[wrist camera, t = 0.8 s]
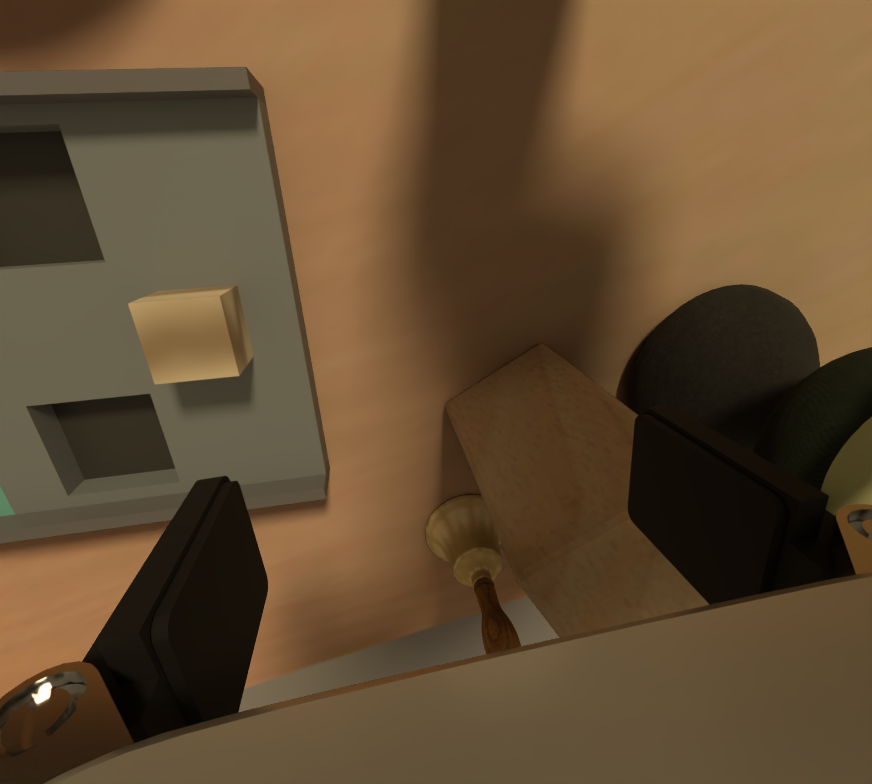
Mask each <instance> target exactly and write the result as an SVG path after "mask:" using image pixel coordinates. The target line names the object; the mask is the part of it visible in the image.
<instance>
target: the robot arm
mask: <svg viewBox="0 0 872 784" xmlns="http://www.w3.org/2000/svg"><path fill="white" fill-rule="evenodd" d="M828 499H829V495H827V494H825V493H824V492H822V491H820V490H818V489H817V488H815V487H813V486H811V485H810V484H808V483H806V482H804V481H802V480H801V479H799V478H797V477H795V476H794V475H792V474H790V473H788V472H787V471H785V470H783V469H781V468H780V467H778V466H776V465H774V464H773V463H771V462H769V461H767V460H766V459H764V458H762V457H760V456H758V455H757V454H755V453H753V452H751V451H750V450H748V449H746V448H744V447H743V446H741V445H739V444H737V443H736V442H734V441H732V440H730V439H729V438H727V437H725V436H723V435H722V434H720V433H718V432H716V431H715V430H713V429H711V428H709V427H707V426H706V425H704V424H702V423H700V422H699V421H697V420H695V419H693V418H692V417H690V416H688V415H686V414H685V413H683V412H681V411H679V410H678V409H676V408H674V407H672V406H670V405H664V406H657V407H651V408H645V409H643V410H642V412H641V414H640V415H638V416H637V417H636V419H635V424H634V436H633V448H632V460H631V472H630V484H629V496H628V514H629V517H630V519H631V521H632V522H633V523H634V524H635V525H636V526H637V528H638V529H639V530H640V531H641V532H642V533H643V534H644V535H645V536H646V537H647V538H648V539H649V540H650V541H651V543H652V544H653V545H654V546H655V547H656V548H657V549H658V550H659V551H660V552H661V553H662V554H663V555H664V556H665V557H666V559H667V560H668V561H669V562H670V563H671V564H672V565H673V566H674V567H675V568H676V569H677V570H678V571H679V572H680V574H681V575H682V576H683V577H684V578H685V579H686V580H687V581H688V582H689V583H690V584H691V585H692V586H693V587H694V589H695V590H696V591H697V592H698V593H699V594H700V595H701V596H702V597H703V598H704V599H705V600H706V601H707V602H708V604H709V605H706V606H701V607H697V608H692V609H688V610H683V611H678V612H674V613H669V614H665V615H660V616H655V617H651V618H646V619H642V620H637V621H633V622H628V623H624V624H619V625H615V626H610V627H606V628H601V629H597V630H592V631H588V632H583V633H579V634H574V635H570V636H565V637H561V638H556V639H552V640H548V641H543V642H539V643H534V644H530V645H526V646H521V647H516V648H512V649H508V650H503V651H499V652H494V653H490V654H485V655H481V656H476V657H472V658H468V659H464V660H459V661H455V662H451V663H446V664H442V665H437V666H433V667H429V668H424V669H420V670H416V671H412V672H407V673H403V674H398V675H394V676H390V677H386V678H381V679H377V680H372V681H368V682H364V683H359V684H355V685H351V686H347V687H342V688H338V689H333V690H329V691H324V692H320V693H316V694H312V695H308V696H304V697H300V698H296V699H291V700H288V701H284V702H279V703H275V704H271V705H267V706H262V707H258V708H254V709H250V710H246V711H243V712H239V713H238V711H239V707H240V703H241V699H242V694H243V691H244V687H245V683H246V679H247V674H248V670H249V666H250V662H251V658H252V654H253V650H254V646H255V642H256V638H257V634H258V629H259V625H260V621H261V617H262V613H263V609H264V605H265V601H266V597H267V592H268V580H267V575H266V571H265V568H264V564H263V561H262V558H261V554H260V551H259V548H258V544H257V541H256V537H255V534H254V531H253V527H252V524H251V521H250V517H249V514H248V511H247V507H246V504H245V500H244V497H243V494H242V490H241V487H240V484H239V483H238V481H230V479H229V478H228V477H227V476H220V477H214V478H208V479H202V480H197V481H196V482H195V484H194V485H193V487H192V488H191V490H190V492H189V493H188V495H187V496H186V498H185V500H184V501H183V503H182V504H181V506H180V507H179V509H178V511H177V512H176V514H175V515H174V517H173V518H172V520H171V522H170V523H169V525H168V526H167V528H166V530H165V531H164V533H163V534H162V536H161V537H160V539H159V541H158V542H157V544H156V545H155V547H154V549H153V550H152V552H151V553H150V555H149V556H148V558H147V560H146V561H145V563H144V564H143V566H142V567H141V569H140V571H139V572H138V574H137V575H136V577H135V579H134V580H133V582H132V583H131V585H130V586H129V588H128V590H127V591H126V593H125V594H124V596H123V597H122V599H121V601H120V602H119V604H118V605H117V607H116V609H115V610H114V612H113V613H112V615H111V616H110V618H109V620H108V621H107V623H106V624H105V626H104V628H103V629H102V631H101V632H100V634H99V635H98V637H97V639H96V640H95V642H94V644H93V645H92V647H91V648H90V650H89V652H88V653H87V655H86V656H85V658H84V659H83V661H82V662H80V661H78V662H71V663H63V664H61V665H58V666H55V667H52V668H49V669H46V670H44V671H42V672H40V673H38V674H36V675H35V676H33V677H31V678H29V679H27V680H25V681H24V682H22V683H21V684H19V685H18V686H16V687H15V688H14V689H12V690H11V691H9V692H8V693H6V694H5V695H4V696H3V697H2V698H0V784H872V505H868V504H852V505H847V506H844V507H841V508H840V509H839V510H838V511H837V512H836V515H835V517H833V516H831V515H830V514H828V513H826V512H825V510H826V506H827V502H828Z"/></svg>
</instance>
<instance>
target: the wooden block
mask: <svg viewBox="0 0 872 784" xmlns="http://www.w3.org/2000/svg"><path fill="white" fill-rule="evenodd" d="M445 408H446V411H447V414H448V416H449V419H450V421H451V423H452V426H453V428H454V431H455V433H456V435H457V438H458V440H459V443H460V445H461V448H462V450H463V452H464V455H465V457H466V460H467V462H468V464H469V467H470V469H471V472H472V474H473V476H474V479H475V481H476V484H477V486H478V488H479V491H480V493H481V496H482V498H483V501H484V503H485V505H486V508H487V510H488V513H489V515H490V517H491V520H492V522H493V525H494V527H495V529H496V532H497V534H498V537H499V539H500V541H501V544H502V546H503V549H504V551H505V553H506V556H507V558H508V561H509V563H510V566H511V568H512V570H513V573H514V575H515V578H516V580H517V582H518V584H519V585H520V586H521V588H522V589H523V590H524V592H525V593H526V594H527V595H528V597H529V598H530V599H531V601H532V602H533V603H534V605H535V606H536V607H537V608H538V610H539V611H540V612H541V614H542V615H543V616H544V618H545V619H546V620H547V621H548V623H549V624H550V625H551V627H552V628H553V629H554V631H555V632H556V633H557V635H558V636H559V637H560V638H561V637H565V636H570V635H574V634H579V633H583V632H588V631H592V630H597V629H601V628H606V627H610V626H615V625H619V624H624V623H628V622H633V621H637V620H642V619H646V618H651V617H655V616H660V615H665V614H669V613H674V612H678V611H683V610H688V609H692V608H697V607H701V606H706V605H709V604H708V602H707V601H706V600H705V599H704V598H703V597H702V596H701V595H700V594H699V593H698V592H697V591H696V590H695V589H694V587H693V586H692V585H691V584H690V583H689V582H688V581H687V580H686V579H685V578H684V577H683V576H682V575H681V574H680V572H679V571H678V570H677V569H676V568H675V567H674V566H673V565H672V564H671V563H670V562H669V561H668V560H667V559H666V557H665V556H664V555H663V554H662V553H661V552H660V551H659V550H658V549H657V548H656V547H655V546H654V545H653V544H652V543H651V541H650V540H649V539H648V538H647V537H646V536H645V535H644V534H643V533H642V532H641V531H640V530H639V529H638V528H637V526H636V525H635V524H634V523H633V522H632V521H631V519H630V517H629V514H628V496H629V484H630V472H631V460H632V448H633V436H634V424H635V419H636V417H637V416H638V415H637V414H636V413H635V412H633V411H632V410H631V409H629V408H628V407H627V406H625V405H624V404H623V403H621V402H620V401H619V400H617V399H616V398H615V397H614V396H612V395H611V394H610V393H608V392H607V391H606V390H604V389H603V388H602V387H600V386H599V385H598V384H596V383H595V382H594V381H592V380H591V379H590V378H588V377H587V376H586V375H584V374H583V373H582V372H580V371H579V370H578V369H576V368H575V367H574V366H572V365H571V364H570V363H568V362H567V361H566V360H564V359H563V358H562V357H560V356H559V355H558V354H556V353H555V352H554V351H552V350H551V349H550V348H548V347H547V346H546V345H544V344H539V345H537V346H535V347H534V348H532V349H531V350H529V351H527V352H526V353H524V354H523V355H521V356H519V357H518V358H516V359H515V360H513V361H512V362H510V363H508V364H507V365H505V366H504V367H502V368H500V369H499V370H497V371H496V372H494V373H493V374H491V375H489V376H488V377H486V378H485V379H483V380H481V381H480V382H478V383H477V384H475V385H473V386H472V387H470V388H469V389H467V390H466V391H464V392H462V393H461V394H459V395H458V396H456V397H454V398H453V399H451V400H450V401H448V402H447V403H446V404H445Z"/></svg>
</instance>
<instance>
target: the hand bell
mask: <svg viewBox="0 0 872 784" xmlns="http://www.w3.org/2000/svg"><path fill="white" fill-rule="evenodd" d="M425 539H426V543H427V545H428V547H429V548H430V550H431V551H432V552H433V553H434V554H435V555H436V556H437V557H438V558H440V559H442V560H444V561H446V562H449V564H450V566H451V568H452V570H453V573H454V576H455V577H456V579H457V580H458V581H459V582H460V583H461V584H463V585H465V586H468V587H474V591H475V593H476V596H477V599H478V602H479V605H480V608H481V612H482V637H483V643H484V647H485V651H486V654H490V653H494V652H499V651H503V650H508V649H512V648H516V647H521V644H520V641H519V638H518V635H517V633H516V630H515V628H514V626H513V624H512V623H511V621H510V620H509V618H508V617H507V615H506V614H505V613H504V612H503V610H502V608H501V607H500V604H499V602H498V598H497V595H496V591H495V588H494V583H493V581H494V580H495V579H496V578H497V577H498V575H499V574H500V572H501V569H502V558H501V554H500V548H499V546H500V545H501V541H500V539H499V537H498V534H497V532H496V529H495V527H494V525H493V522H492V520H491V517H490V515H489V513H488V510H487V508H486V505H485V503H484V501H483V498H482V496H481V495H462V496H458V497H455V498H452V499H450V500H448V501H446V502H445V503H443V504H442V505H440V506H439V507H438V508H437V509H436V510H435V511H434V512H433V513H432V515H431V516H430V517H429V519H428V521H427V525H426V528H425Z"/></svg>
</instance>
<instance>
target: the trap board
mask: <svg viewBox="0 0 872 784" xmlns="http://www.w3.org/2000/svg"><path fill="white" fill-rule="evenodd" d="M233 285H237V286H238V291H239V295H240V300H241V304H242V308H243V313H244V317H245V321H246V326H247V330H248V334H249V339H250V343H251V348H252V352H253V358H252V359H251V360H250V362H249V363H248V365H247V366H246V367H245V369H244V370H243V372H242V373H241V374H240V376H234V377H224V378H214V379H204V380H195V381H185V382H175V383H165V384H154V381H153V378H152V375H151V372H150V369H149V366H148V363H147V360H146V357H145V354H144V351H143V348H142V345H141V342H140V339H139V336H138V333H137V330H136V327H135V324H134V321H133V318H132V315H131V312H130V309H129V306H128V303H130V302H133V301H135V300H138V299H140V298H142V297H145V296H147V295H150V294H152V293H155V292H157V291H168V290H181V289H194V288H207V287H220V286H233ZM329 470H330V466H329V461H328V455H327V449H326V443H325V438H324V432H323V426H322V421H321V415H320V409H319V404H318V398H317V392H316V386H315V381H314V375H313V369H312V364H311V358H310V352H309V347H308V341H307V335H306V329H305V324H304V318H303V312H302V307H301V301H300V295H299V290H298V284H297V278H296V272H295V267H294V261H293V255H292V250H291V244H290V238H289V233H288V227H287V221H286V215H285V210H284V204H283V198H282V193H281V187H280V181H279V176H278V170H277V164H276V159H275V153H274V147H273V141H272V136H271V130H270V124H269V119H268V113H267V107H266V102H265V96H264V90H263V87H262V86H261V85H260V83H259V82H258V81H257V80H256V79H255V77H254V76H253V75H252V74H251V73H250V71H249V70H248V69H247V68H246V67H212V68H160V69H108V70H56V71H3V72H0V544H1V543H8V542H16V541H23V540H30V539H38V538H45V537H52V536H59V535H67V534H74V533H81V532H89V531H96V530H103V529H111V528H118V527H125V526H132V525H140V524H147V523H154V522H162V521H169V520H172V518H173V517H174V515H175V514H176V512H177V511H178V509H179V507H180V506H181V504H182V503H183V501H184V500H185V498H186V496H187V495H188V493H189V492H190V490H191V488H192V487H193V485H194V484H195V482H196V481H197V480H202V479H208V478H214V477H220V476H227V477H228V478H229V479H230V481H238V483H239V484H240V487H241V490H242V494H243V497H244V500H245V504H246V507H247V510H249V509H257V508H264V507H271V506H279V505H286V504H293V503H300V502H308V501H315V500H322V499H326V495H327V487H328V479H329Z"/></svg>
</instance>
